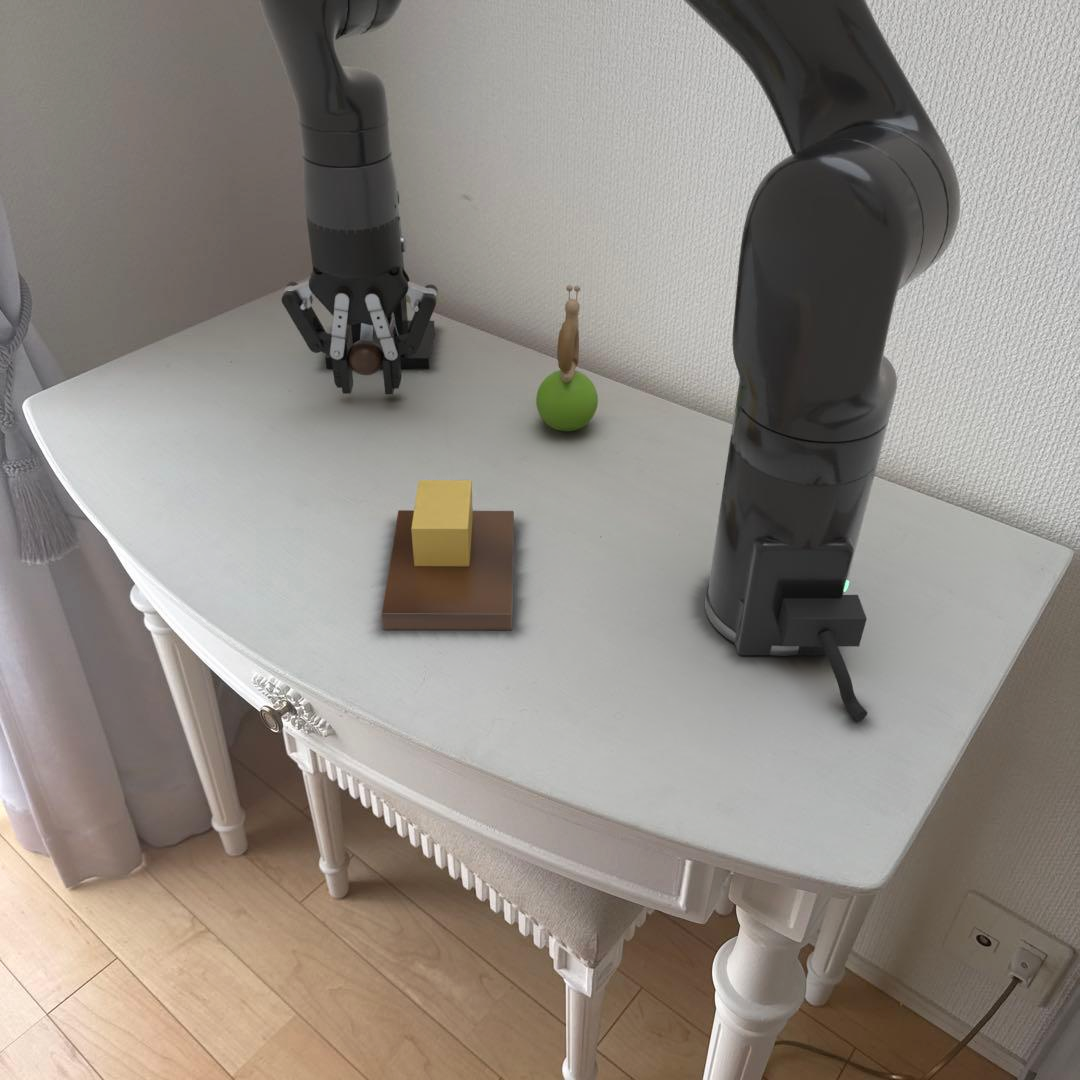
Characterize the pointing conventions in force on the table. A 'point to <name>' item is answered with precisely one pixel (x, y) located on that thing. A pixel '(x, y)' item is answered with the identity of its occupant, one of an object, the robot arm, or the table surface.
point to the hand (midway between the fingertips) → (369, 389)
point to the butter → (442, 523)
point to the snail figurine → (567, 380)
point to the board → (453, 580)
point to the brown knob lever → (366, 352)
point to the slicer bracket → (402, 324)
